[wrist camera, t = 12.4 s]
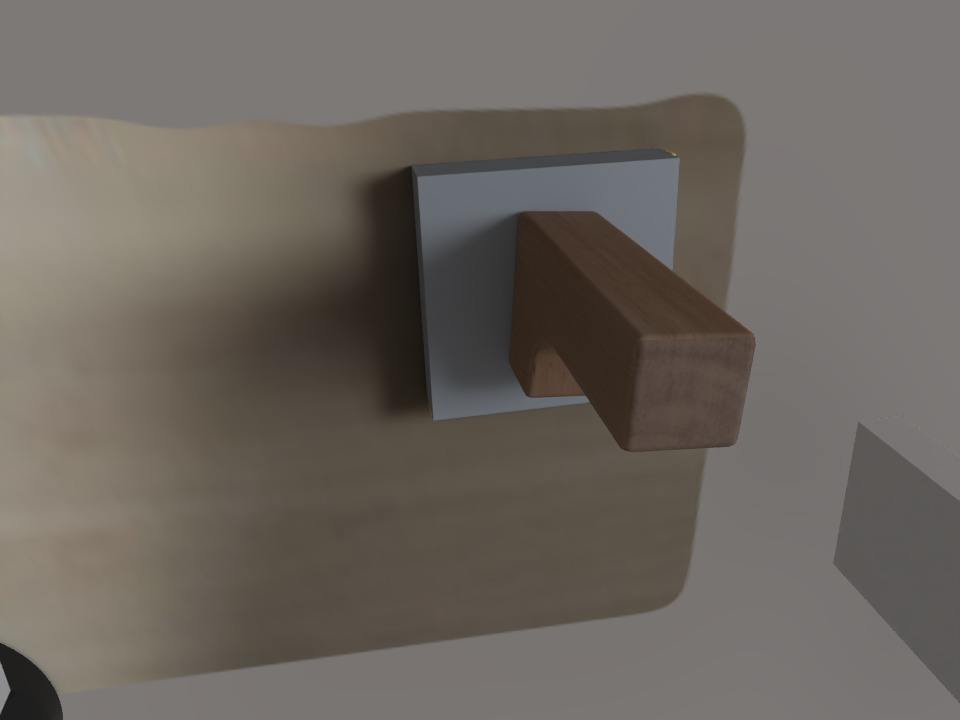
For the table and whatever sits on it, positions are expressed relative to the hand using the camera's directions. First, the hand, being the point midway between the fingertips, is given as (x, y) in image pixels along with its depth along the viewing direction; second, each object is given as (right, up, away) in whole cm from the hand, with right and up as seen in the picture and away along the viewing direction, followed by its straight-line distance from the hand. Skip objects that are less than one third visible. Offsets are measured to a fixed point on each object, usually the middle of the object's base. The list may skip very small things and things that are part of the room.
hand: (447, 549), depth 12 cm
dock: (+4, +8, +36) cm, 37 cm away
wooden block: (+4, +7, +33) cm, 34 cm away
